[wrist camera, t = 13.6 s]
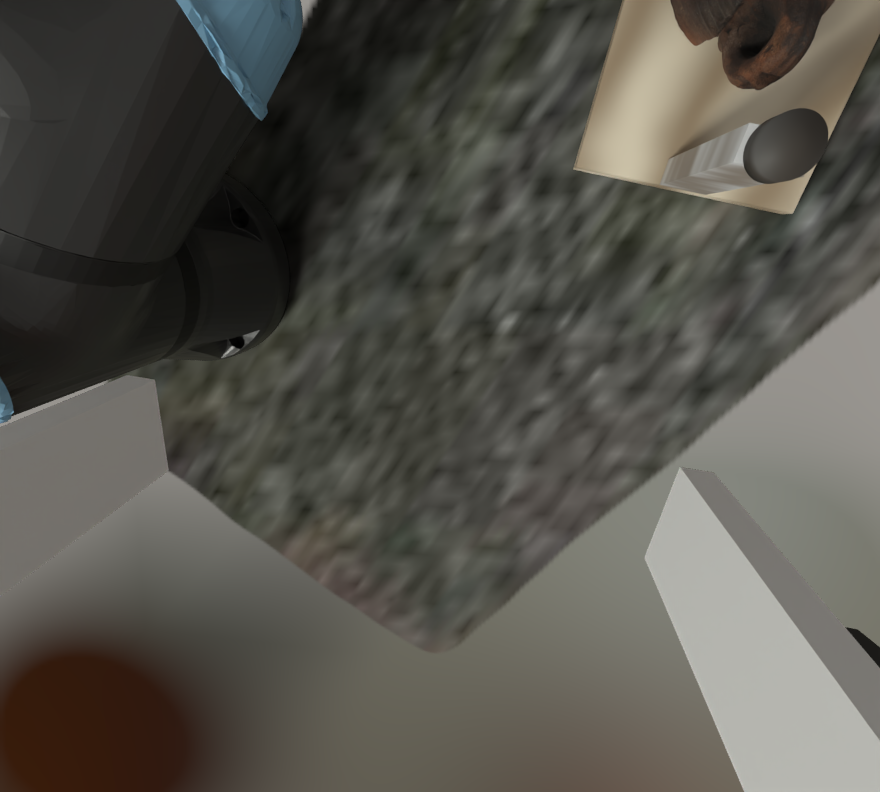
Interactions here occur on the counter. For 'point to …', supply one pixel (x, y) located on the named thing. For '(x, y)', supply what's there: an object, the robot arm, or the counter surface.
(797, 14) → the pottery mug
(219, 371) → the counter surface
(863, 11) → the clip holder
